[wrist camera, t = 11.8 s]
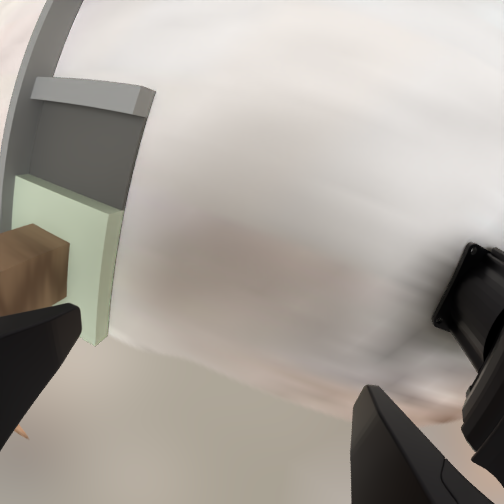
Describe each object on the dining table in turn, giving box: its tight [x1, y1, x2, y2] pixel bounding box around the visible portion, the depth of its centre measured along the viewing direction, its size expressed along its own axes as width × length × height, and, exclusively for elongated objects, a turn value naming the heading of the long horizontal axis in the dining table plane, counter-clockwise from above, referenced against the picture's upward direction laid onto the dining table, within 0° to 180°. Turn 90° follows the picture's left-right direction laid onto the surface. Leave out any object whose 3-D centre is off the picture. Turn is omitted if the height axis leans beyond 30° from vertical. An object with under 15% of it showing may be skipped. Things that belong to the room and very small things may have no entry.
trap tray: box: [0, 0, 156, 346], centre depth 19 cm, size 32×13×4 cm, turn 162°
